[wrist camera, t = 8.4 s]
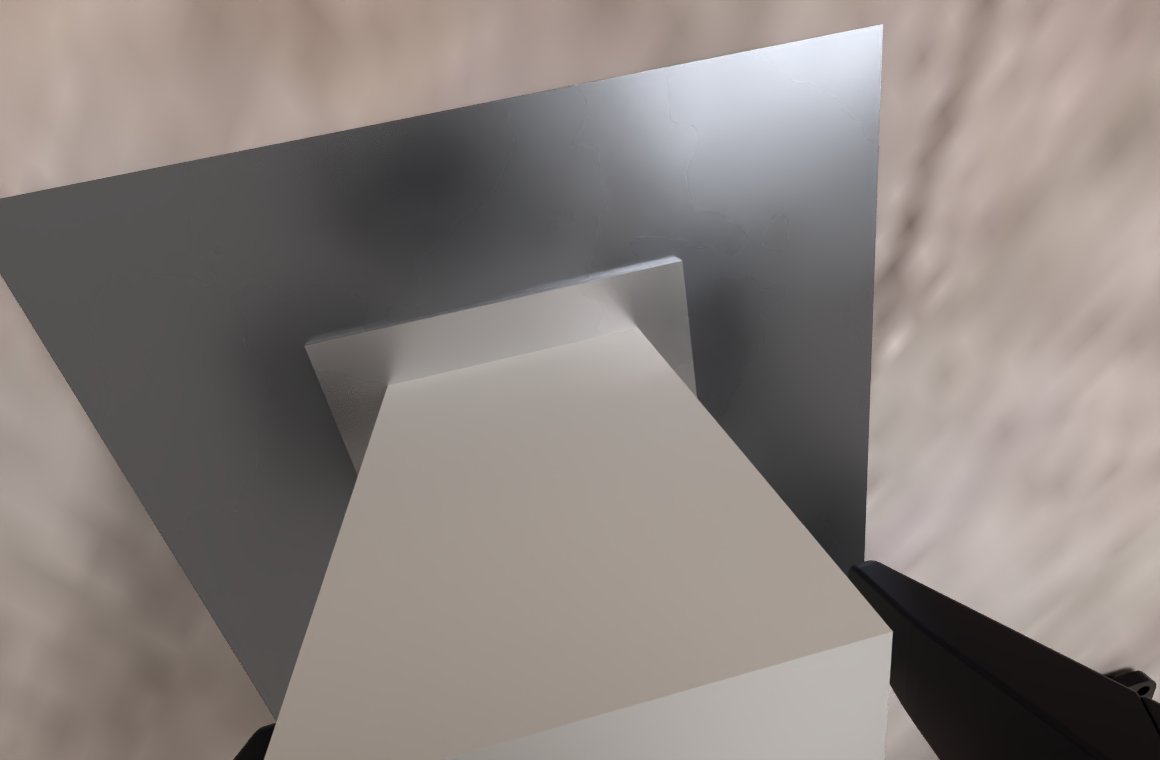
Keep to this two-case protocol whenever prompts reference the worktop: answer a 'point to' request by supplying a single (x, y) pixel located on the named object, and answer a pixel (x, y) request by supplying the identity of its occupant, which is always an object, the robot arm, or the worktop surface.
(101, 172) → the worktop surface
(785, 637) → the light grey block
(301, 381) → the duct plate
